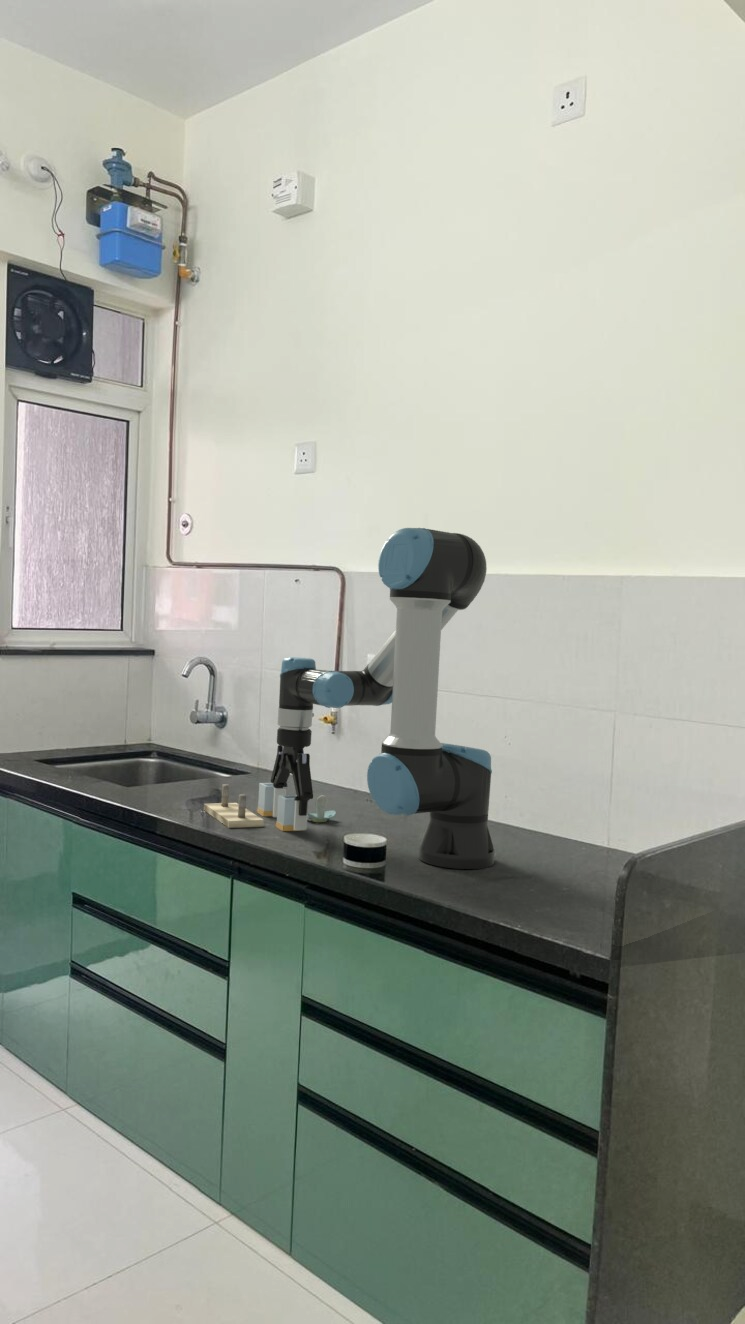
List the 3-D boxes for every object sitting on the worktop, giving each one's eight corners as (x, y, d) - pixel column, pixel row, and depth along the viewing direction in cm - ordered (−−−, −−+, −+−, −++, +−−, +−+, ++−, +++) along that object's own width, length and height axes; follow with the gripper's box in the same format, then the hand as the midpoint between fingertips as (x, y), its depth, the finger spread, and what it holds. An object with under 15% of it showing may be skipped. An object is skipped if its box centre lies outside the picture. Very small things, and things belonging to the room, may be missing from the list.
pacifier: (297, 820, 235) (311, 824, 230) (298, 793, 234) (312, 797, 230) (324, 817, 239) (338, 822, 234) (325, 791, 239) (339, 795, 234)
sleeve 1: (282, 815, 237) (284, 786, 237) (263, 816, 235) (265, 786, 235) (275, 811, 241) (277, 782, 241) (257, 812, 239) (258, 783, 239)
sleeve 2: (302, 830, 222) (304, 798, 222) (282, 831, 220) (284, 799, 220) (295, 826, 226) (297, 795, 226) (275, 826, 224) (277, 795, 224)
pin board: (263, 826, 224) (264, 797, 223) (228, 827, 220) (230, 798, 220) (236, 809, 242) (237, 782, 242) (203, 809, 238) (205, 782, 238)
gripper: (332, 735, 213) (326, 835, 214) (291, 720, 235) (285, 811, 236) (298, 735, 209) (292, 836, 210) (260, 720, 232) (255, 811, 233)
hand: (289, 823), depth 223 cm, fingers open, 13 cm apart
